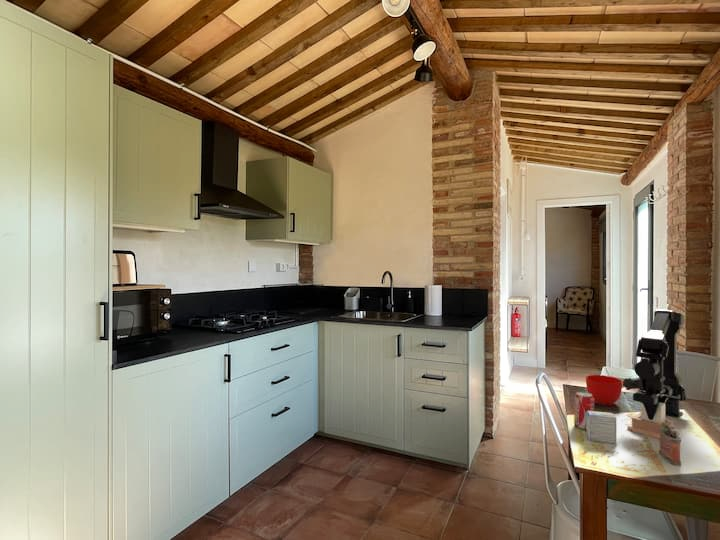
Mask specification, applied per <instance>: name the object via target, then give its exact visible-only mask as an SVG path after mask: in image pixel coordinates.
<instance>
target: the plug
mask: <svg viewBox="0 0 720 540" xmlns="http://www.w3.org/2000/svg"><path fill="white" fill-rule="evenodd" d="M640 413H641V419H643V420H647V421H651V422H654V423H658V424H662V422H665V419H666V414H665V403H661V402H660V405H659V407H658V409H657V411H656V414H655V416H654V418H653V420H650V419H648V416H647V413H646V410H645V407H644V405H643V403H641V402H640Z"/></svg>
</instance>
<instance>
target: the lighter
mask: <svg viewBox="0 0 720 540" xmlns="http://www.w3.org/2000/svg"><path fill="white" fill-rule="evenodd" d="M662 427H664V428H665V429H659V432H660V439H659V450H658V454H659V456H660V457H661V458H662V459H663V460H664V461H665V462H667V463H669V464H671V465H673V466H679V467H680V466H682V461H681V442H682V439H681V437H679V436H678V435H676V434H677V430H678V429H677V430H675V429H676V428H675V426H674V427H673V426H669V425H668V424H667V423H666V422H662Z"/></svg>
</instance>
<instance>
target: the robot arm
mask: <svg viewBox="0 0 720 540" xmlns="http://www.w3.org/2000/svg"><path fill="white" fill-rule="evenodd" d="M684 323H685V316H684V314H683V313H681V312H680V311H674V310H671V309H660V308H659V309H656V310H655V311H654V313H653V321H652V324H651V326H650V328H649V331H647V332H643V334H642V335H641V337H640V338H639V339H638V343H637V347H636V354H635V357H637V358H640V361H638V362H636V364H635V365H634V373H635V374H636V375H637V376H638V377H633V378H631V377H629V378H623V381H622V387H624V388H625V390H626V391H630V390H634V389H635V390H636V389H637V390H638V391H636V392H634V393H633V394H632V401H635V402H638V403H640V404H641V403H643V405H644V407H645V410H646V413H647V416H648V419H650V420H653V418H654V416H655V414H656V411H657V409H658V407H659V405H660V402H661V403H665V416H666V415H667V416H671V417H674V418H680V416H682V415H683V414H684V412H682V411H681V410H680V409H681V408H680V405H681V404H680V402H686V401H687V392H686V389H685V387H684V385H683V383H682V378H681V377H680V376H679V374H678V373H677V349H678V348H677V347H678V346H677V343H678V342H677V340H678V339H677V338H678V334H679V333H680V331H682V328H683V325H684Z"/></svg>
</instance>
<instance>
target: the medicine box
mask: <svg viewBox="0 0 720 540" xmlns="http://www.w3.org/2000/svg"><path fill="white" fill-rule="evenodd" d="M586 436H587V438H588V440H589V441H590V442H591V441H592V442H601V443H609V444H617V443H618V441H617V417H616V415H614V413H613V412H606V411H605V412H604V411H595V410H594V411H587V430H586Z"/></svg>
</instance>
